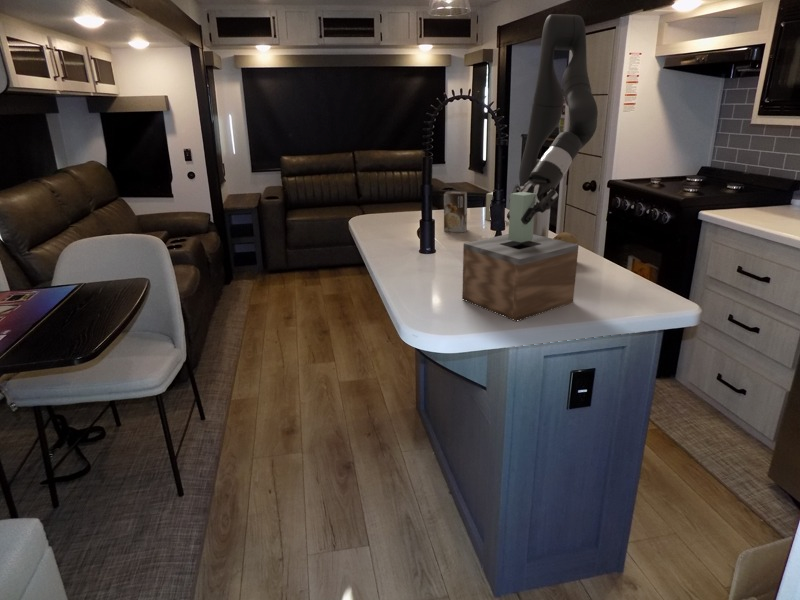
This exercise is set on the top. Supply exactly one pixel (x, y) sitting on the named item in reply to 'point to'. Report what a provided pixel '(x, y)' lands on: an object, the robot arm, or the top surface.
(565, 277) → the box
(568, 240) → the natural sponge
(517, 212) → the sage peg
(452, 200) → the coffee box
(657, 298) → the top surface
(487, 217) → the skincare box
